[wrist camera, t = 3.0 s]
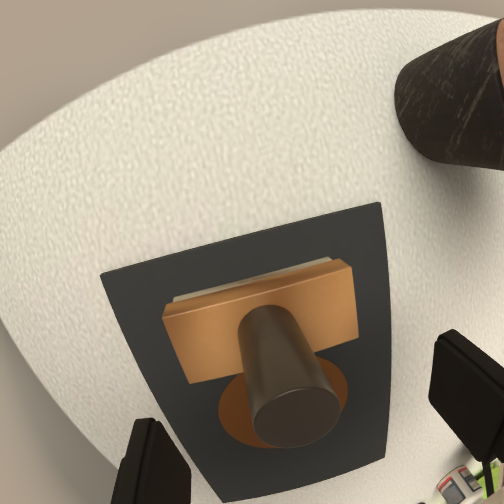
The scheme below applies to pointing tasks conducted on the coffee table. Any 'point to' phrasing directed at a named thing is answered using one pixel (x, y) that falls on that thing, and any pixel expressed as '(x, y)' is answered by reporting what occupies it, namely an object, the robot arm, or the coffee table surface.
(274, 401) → the scrub brush
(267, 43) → the coffee table surface
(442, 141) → the travel mug
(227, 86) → the coffee table surface
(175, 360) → the scrub mat
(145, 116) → the coffee table surface
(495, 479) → the teapot
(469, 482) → the pill bottle
